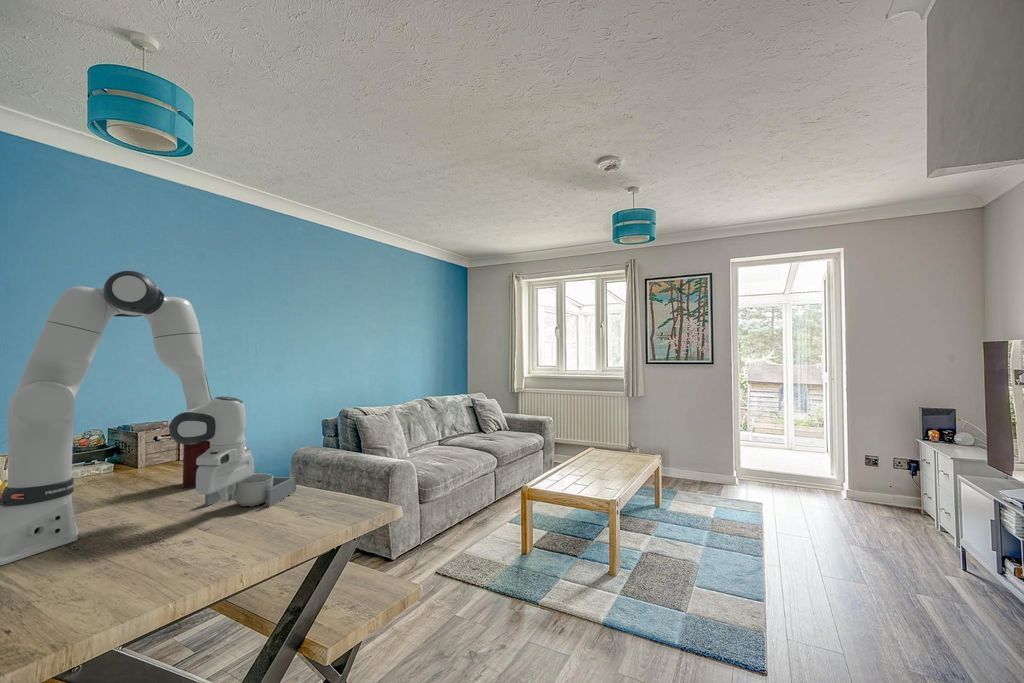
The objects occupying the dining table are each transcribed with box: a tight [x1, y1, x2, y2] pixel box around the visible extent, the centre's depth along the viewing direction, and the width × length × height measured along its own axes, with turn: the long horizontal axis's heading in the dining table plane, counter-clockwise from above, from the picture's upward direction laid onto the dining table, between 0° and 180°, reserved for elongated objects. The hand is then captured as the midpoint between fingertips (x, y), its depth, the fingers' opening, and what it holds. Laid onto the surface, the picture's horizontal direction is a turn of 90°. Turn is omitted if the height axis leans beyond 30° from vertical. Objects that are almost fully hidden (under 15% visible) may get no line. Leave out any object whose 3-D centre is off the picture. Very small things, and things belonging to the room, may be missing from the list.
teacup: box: [231, 472, 275, 507], centre depth 140 cm, size 14×11×8 cm
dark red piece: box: [182, 441, 210, 489], centre depth 164 cm, size 9×11×28 cm
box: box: [204, 476, 297, 507], centre depth 145 cm, size 15×20×5 cm
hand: (227, 501), depth 133 cm, fingers closed
